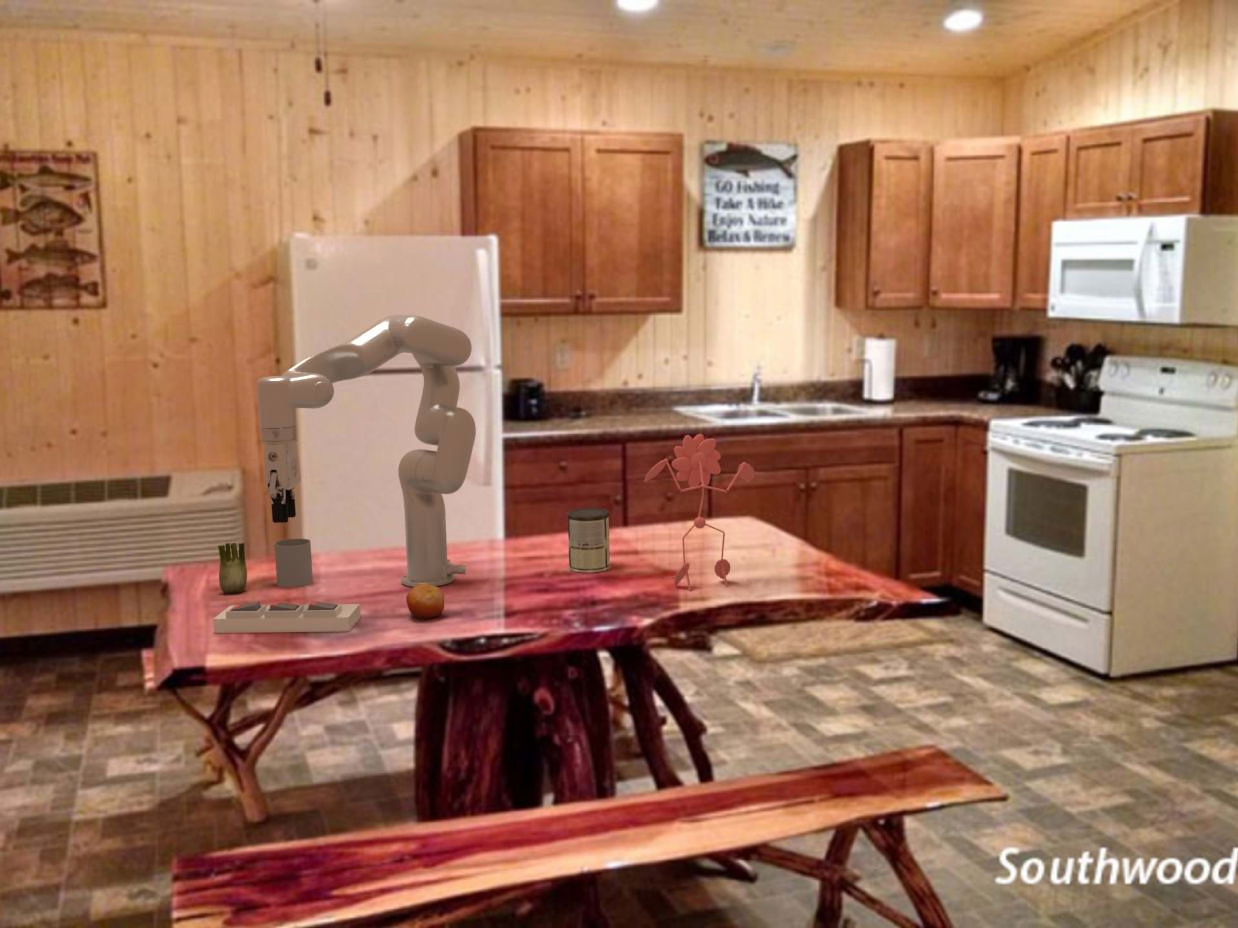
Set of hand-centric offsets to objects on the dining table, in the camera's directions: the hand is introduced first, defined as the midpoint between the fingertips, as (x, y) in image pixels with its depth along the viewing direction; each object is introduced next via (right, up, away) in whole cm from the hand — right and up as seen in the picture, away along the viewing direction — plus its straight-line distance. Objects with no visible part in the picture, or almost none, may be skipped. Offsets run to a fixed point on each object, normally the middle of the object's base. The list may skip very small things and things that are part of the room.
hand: (284, 518), depth 254 cm
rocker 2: (+10, -18, -7) cm, 22 cm away
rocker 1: (-6, -18, -6) cm, 20 cm away
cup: (-6, -17, +31) cm, 36 cm away
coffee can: (+64, -14, +40) cm, 77 cm away
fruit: (+30, -21, +1) cm, 37 cm away
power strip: (+2, -22, -4) cm, 23 cm away
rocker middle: (+2, -18, -7) cm, 19 cm away
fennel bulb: (-18, -18, +24) cm, 35 cm away
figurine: (+90, -16, +25) cm, 94 cm away
